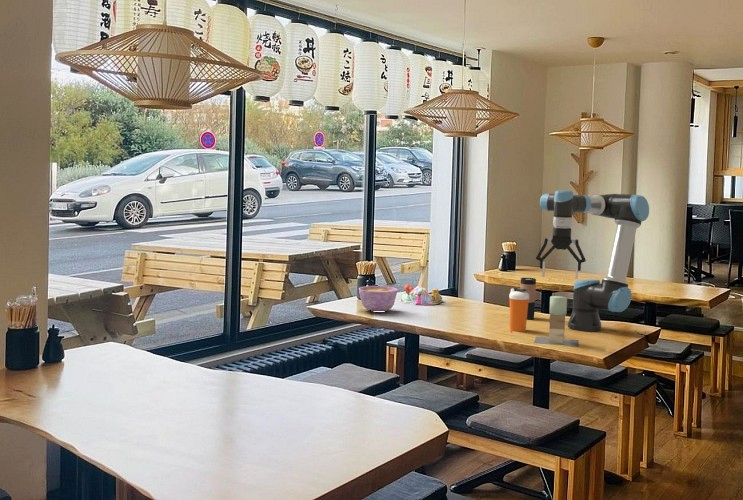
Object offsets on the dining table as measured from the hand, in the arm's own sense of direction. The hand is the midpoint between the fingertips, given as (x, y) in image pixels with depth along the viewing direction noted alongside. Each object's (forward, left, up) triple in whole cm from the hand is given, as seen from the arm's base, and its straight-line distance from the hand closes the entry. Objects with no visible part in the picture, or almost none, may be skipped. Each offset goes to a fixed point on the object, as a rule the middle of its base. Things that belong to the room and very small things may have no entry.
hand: (559, 277), depth 323 cm
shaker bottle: (-18, -18, -29) cm, 38 cm away
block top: (0, 0, -21) cm, 21 cm away
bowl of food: (-42, -91, -29) cm, 104 cm away
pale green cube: (0, 0, -15) cm, 15 cm away
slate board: (0, 0, -28) cm, 28 cm away
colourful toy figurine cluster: (-79, -77, -29) cm, 114 cm away
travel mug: (-53, -17, -29) cm, 62 cm away
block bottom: (0, 0, -27) cm, 27 cm away
